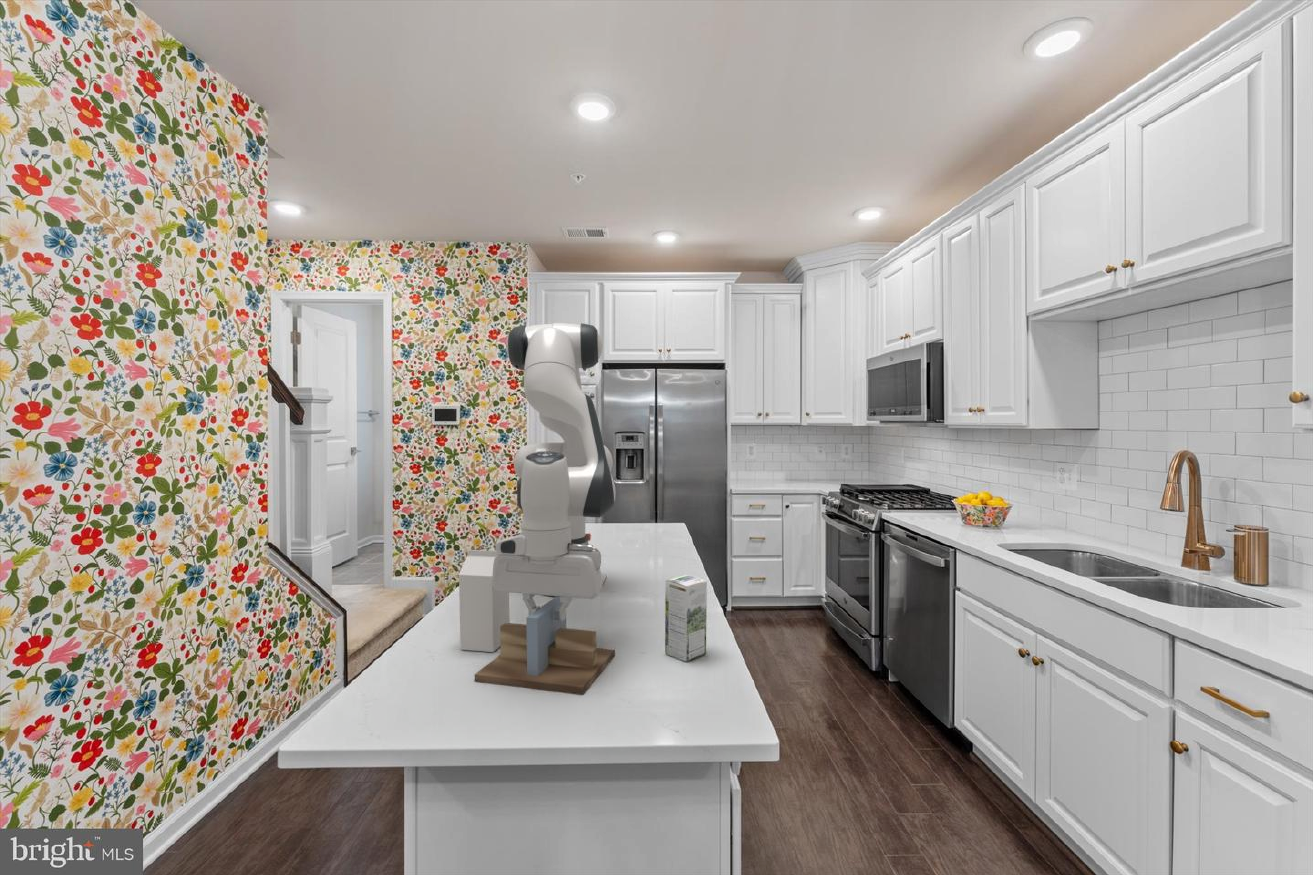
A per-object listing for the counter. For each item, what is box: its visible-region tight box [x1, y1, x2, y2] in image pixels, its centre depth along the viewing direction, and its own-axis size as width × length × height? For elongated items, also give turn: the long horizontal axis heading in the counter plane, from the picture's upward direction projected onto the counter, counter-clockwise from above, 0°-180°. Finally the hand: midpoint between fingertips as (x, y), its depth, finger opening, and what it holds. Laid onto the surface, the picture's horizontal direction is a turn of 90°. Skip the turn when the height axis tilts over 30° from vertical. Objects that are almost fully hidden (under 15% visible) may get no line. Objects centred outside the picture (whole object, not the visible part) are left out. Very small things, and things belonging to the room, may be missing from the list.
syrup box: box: [664, 574, 708, 663], centre depth 111 cm, size 6×6×14 cm
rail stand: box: [474, 622, 616, 695], centre depth 105 cm, size 16×20×7 cm
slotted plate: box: [525, 596, 567, 676], centre depth 105 cm, size 12×2×10 cm, turn 165°
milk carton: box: [458, 549, 511, 653], centre depth 116 cm, size 7×7×19 cm
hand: (547, 618), depth 105 cm, fingers open, 4 cm apart
